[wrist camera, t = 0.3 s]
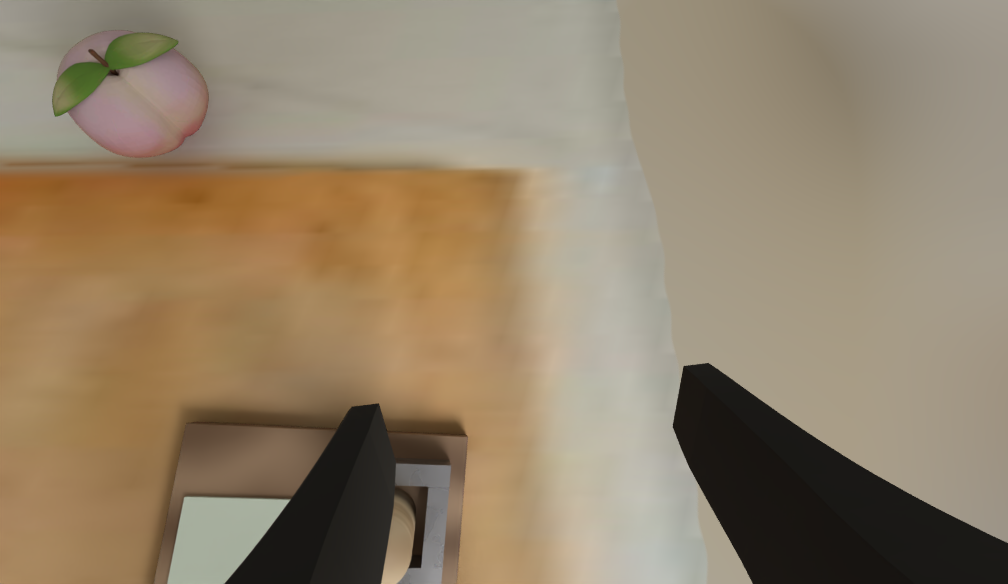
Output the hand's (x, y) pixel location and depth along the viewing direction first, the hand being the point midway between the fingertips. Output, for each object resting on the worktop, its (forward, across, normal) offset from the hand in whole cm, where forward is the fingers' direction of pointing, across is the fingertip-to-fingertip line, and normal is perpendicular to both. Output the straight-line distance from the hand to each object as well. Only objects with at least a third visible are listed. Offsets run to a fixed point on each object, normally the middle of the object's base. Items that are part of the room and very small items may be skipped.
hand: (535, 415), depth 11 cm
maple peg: (+14, +10, +24) cm, 29 cm away
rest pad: (+12, +20, +23) cm, 33 cm away
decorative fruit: (+36, +26, -2) cm, 44 cm away
